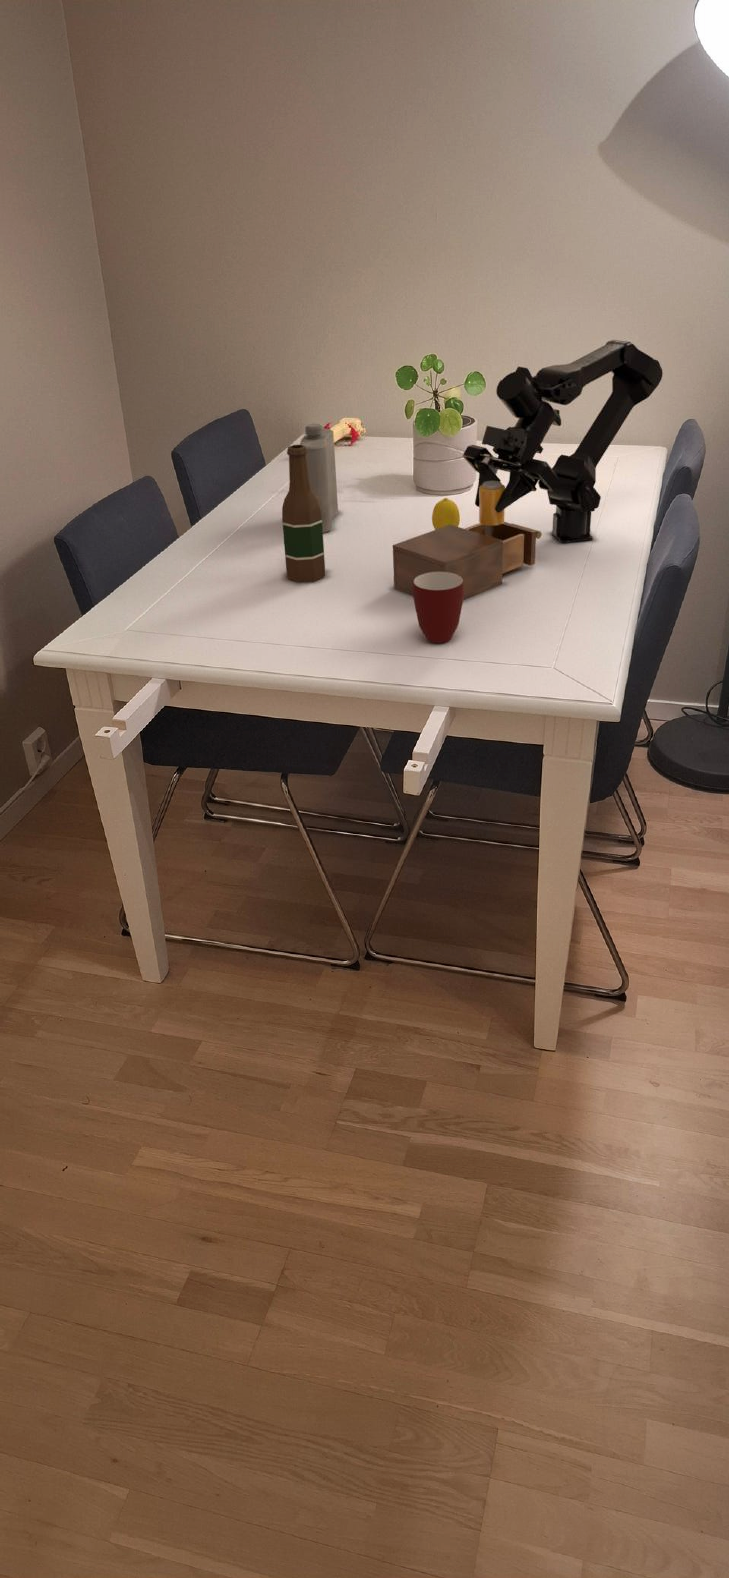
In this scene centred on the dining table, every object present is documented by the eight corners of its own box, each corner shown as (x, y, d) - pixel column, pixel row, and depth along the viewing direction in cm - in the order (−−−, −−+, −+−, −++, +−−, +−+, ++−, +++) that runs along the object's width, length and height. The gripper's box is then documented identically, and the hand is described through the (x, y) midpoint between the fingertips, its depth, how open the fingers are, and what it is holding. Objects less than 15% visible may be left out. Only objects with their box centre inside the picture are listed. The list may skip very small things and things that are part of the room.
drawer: (503, 543, 213) (504, 511, 210) (551, 557, 205) (552, 524, 202) (438, 568, 203) (437, 535, 200) (485, 584, 196) (485, 550, 192)
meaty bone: (333, 466, 271) (373, 432, 289) (330, 430, 266) (371, 398, 284) (298, 463, 275) (340, 429, 293) (294, 428, 270) (337, 396, 287)
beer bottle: (332, 570, 207) (325, 441, 195) (318, 585, 201) (309, 453, 189) (295, 566, 210) (284, 439, 197) (279, 581, 204) (267, 451, 191)
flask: (313, 510, 238) (306, 416, 228) (339, 510, 237) (334, 416, 227) (302, 534, 226) (294, 435, 215) (330, 533, 225) (323, 434, 214)
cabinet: (450, 566, 206) (450, 524, 202) (502, 584, 198) (503, 540, 193) (393, 588, 198) (392, 545, 194) (445, 607, 190) (445, 562, 185)
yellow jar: (500, 516, 201) (501, 478, 198) (507, 524, 198) (508, 486, 194) (476, 518, 201) (476, 481, 197) (482, 527, 197) (483, 488, 193)
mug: (418, 622, 185) (417, 565, 180) (466, 623, 184) (466, 566, 179) (411, 648, 176) (410, 590, 171) (461, 649, 175) (461, 590, 170)
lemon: (457, 542, 217) (457, 502, 213) (430, 541, 218) (429, 502, 214) (461, 533, 222) (461, 494, 218) (434, 532, 223) (433, 493, 219)
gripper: (469, 399, 197) (427, 474, 197) (549, 415, 185) (504, 495, 185) (498, 434, 205) (457, 506, 205) (577, 451, 193) (533, 528, 193)
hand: (486, 508), depth 197 cm, fingers closed on yellow jar, 4 cm apart
